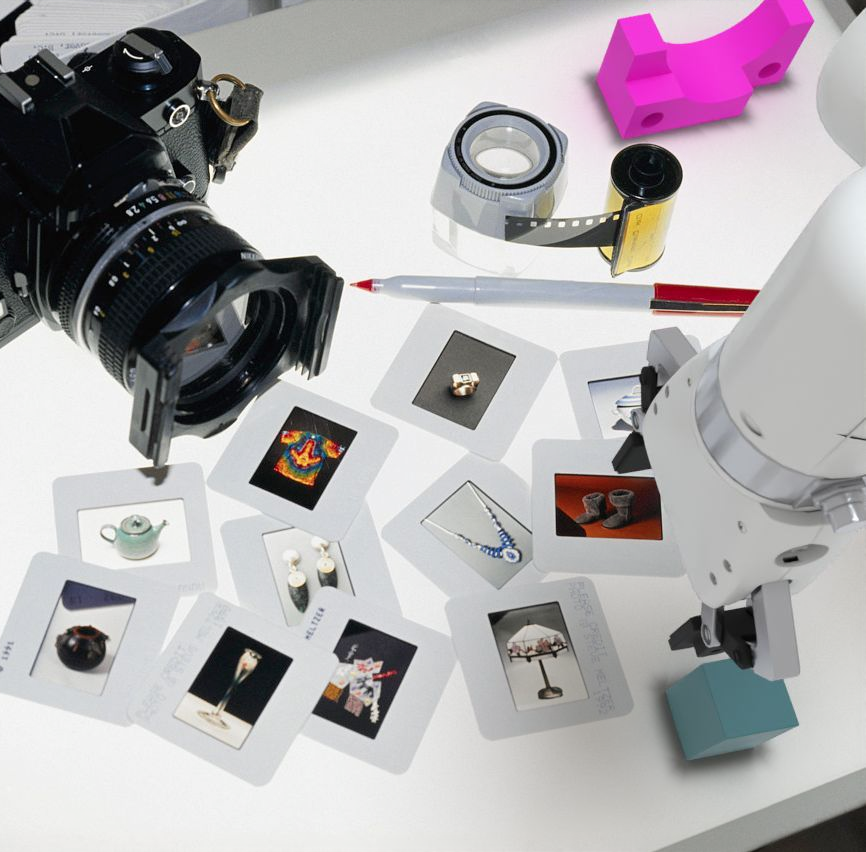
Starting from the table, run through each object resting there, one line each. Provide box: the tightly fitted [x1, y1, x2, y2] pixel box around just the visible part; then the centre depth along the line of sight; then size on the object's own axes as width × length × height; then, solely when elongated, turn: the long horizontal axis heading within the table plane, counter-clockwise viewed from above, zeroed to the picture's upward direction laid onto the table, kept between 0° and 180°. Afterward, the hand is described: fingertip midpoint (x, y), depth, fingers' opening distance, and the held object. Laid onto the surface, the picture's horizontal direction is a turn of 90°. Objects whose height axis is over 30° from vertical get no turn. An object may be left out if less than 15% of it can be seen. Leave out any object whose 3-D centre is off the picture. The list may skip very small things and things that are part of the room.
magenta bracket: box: [595, 0, 815, 140], centre depth 98 cm, size 15×6×8 cm, turn 104°
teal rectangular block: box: [664, 657, 800, 761], centre depth 77 cm, size 5×5×8 cm
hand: (668, 549), depth 63 cm, fingers open, 9 cm apart
